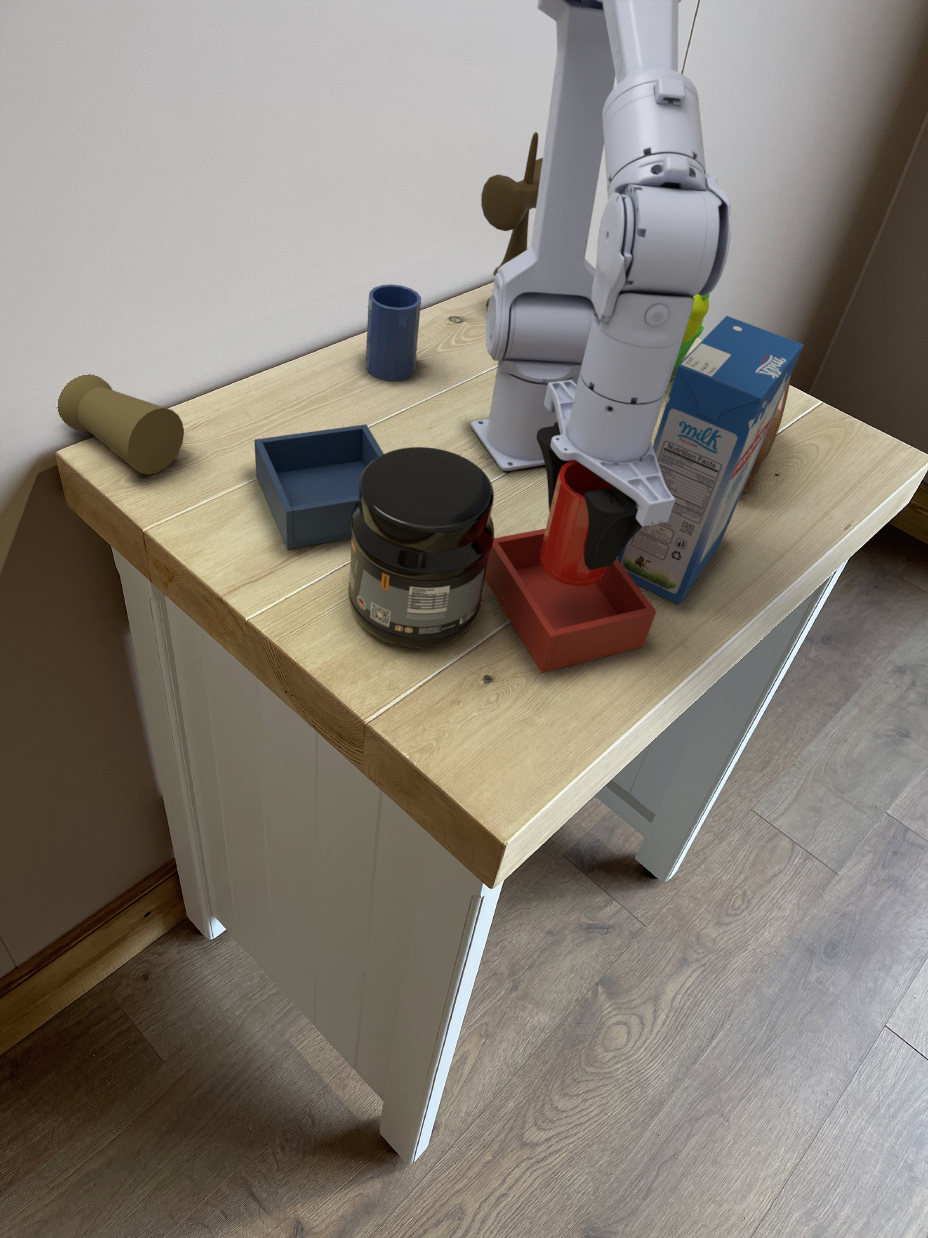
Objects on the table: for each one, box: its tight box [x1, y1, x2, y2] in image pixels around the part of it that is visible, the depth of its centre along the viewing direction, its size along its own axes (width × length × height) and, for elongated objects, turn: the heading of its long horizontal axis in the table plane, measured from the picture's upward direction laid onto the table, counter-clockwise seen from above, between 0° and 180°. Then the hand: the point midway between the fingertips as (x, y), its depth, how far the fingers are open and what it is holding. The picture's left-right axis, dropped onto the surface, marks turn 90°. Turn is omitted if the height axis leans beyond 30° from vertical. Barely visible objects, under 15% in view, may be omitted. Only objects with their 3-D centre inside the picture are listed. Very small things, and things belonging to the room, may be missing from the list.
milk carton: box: [617, 315, 804, 606], centre depth 74 cm, size 10×6×20 cm, turn 148°
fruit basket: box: [673, 294, 710, 371], centre depth 99 cm, size 11×9×11 cm
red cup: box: [540, 460, 613, 586], centre depth 68 cm, size 5×5×8 cm
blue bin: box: [253, 423, 384, 550], centre depth 79 cm, size 10×10×4 cm
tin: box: [742, 380, 791, 493], centre depth 90 cm, size 15×3×8 cm, turn 159°
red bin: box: [484, 527, 657, 673], centre depth 73 cm, size 9×11×4 cm
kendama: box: [480, 131, 543, 309], centre depth 102 cm, size 6×10×20 cm, turn 139°
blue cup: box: [365, 284, 422, 382], centre depth 95 cm, size 5×5×8 cm
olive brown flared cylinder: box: [56, 373, 185, 475], centre depth 81 cm, size 6×6×11 cm
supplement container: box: [347, 446, 495, 649], centre depth 69 cm, size 10×10×12 cm
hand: (580, 539), depth 69 cm, fingers closed on red cup, 5 cm apart
